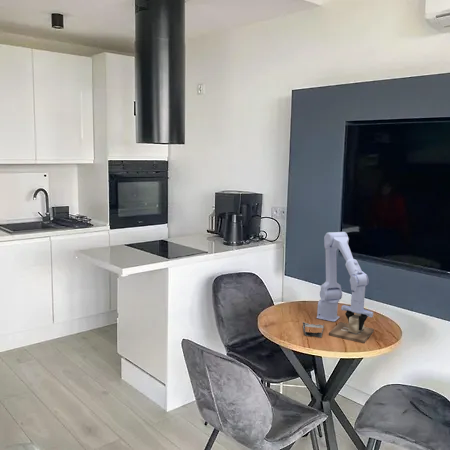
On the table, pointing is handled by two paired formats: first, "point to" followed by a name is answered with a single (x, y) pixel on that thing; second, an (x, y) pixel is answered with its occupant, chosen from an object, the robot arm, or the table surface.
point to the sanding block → (354, 324)
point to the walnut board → (342, 332)
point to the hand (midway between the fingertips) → (355, 328)
